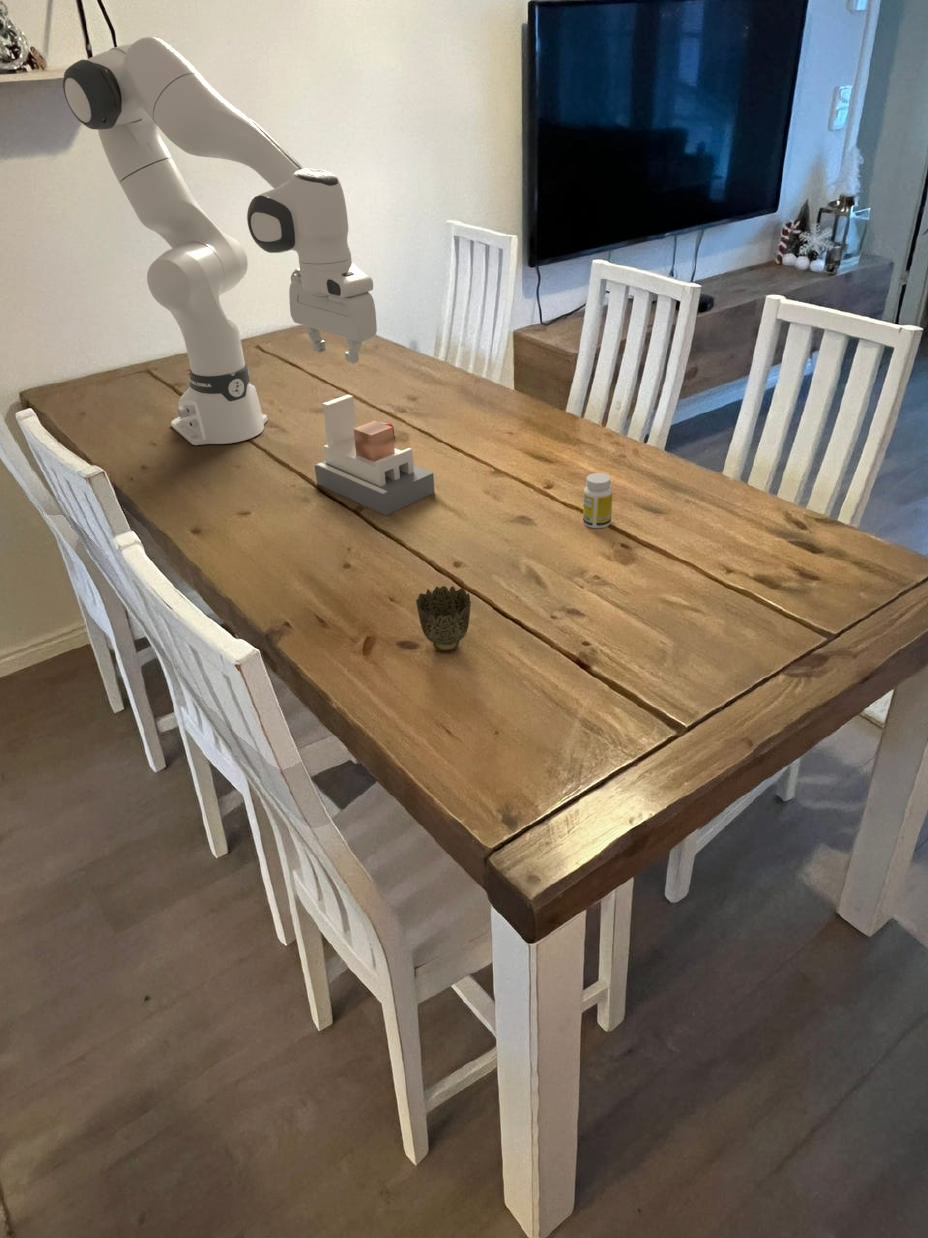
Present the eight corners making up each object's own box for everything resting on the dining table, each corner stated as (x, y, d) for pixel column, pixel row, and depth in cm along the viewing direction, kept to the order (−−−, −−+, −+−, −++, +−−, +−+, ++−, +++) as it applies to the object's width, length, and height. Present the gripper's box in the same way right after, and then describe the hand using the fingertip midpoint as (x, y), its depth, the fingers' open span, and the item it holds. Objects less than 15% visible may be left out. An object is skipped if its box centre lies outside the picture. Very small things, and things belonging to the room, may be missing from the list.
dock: (317, 484, 173) (314, 463, 171) (365, 463, 180) (363, 444, 177) (385, 515, 161) (383, 494, 159) (434, 492, 168) (433, 471, 165)
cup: (418, 634, 129) (415, 587, 125) (470, 630, 130) (468, 582, 125) (421, 665, 123) (417, 616, 119) (475, 660, 124) (473, 612, 119)
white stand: (325, 462, 171) (318, 404, 165) (358, 449, 176) (352, 392, 169) (380, 486, 162) (374, 426, 155) (413, 472, 166) (409, 412, 160)
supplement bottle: (613, 518, 157) (615, 473, 152) (607, 530, 153) (610, 485, 148) (586, 514, 158) (587, 470, 153) (580, 527, 154) (581, 482, 150)
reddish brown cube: (356, 454, 165) (353, 428, 163) (377, 445, 168) (374, 420, 165) (373, 461, 162) (371, 435, 160) (394, 452, 165) (392, 427, 162)
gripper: (275, 270, 158) (286, 349, 166) (350, 289, 146) (358, 373, 154) (304, 263, 162) (314, 340, 170) (379, 281, 150) (386, 363, 157)
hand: (335, 356), depth 162 cm, fingers open, 8 cm apart
